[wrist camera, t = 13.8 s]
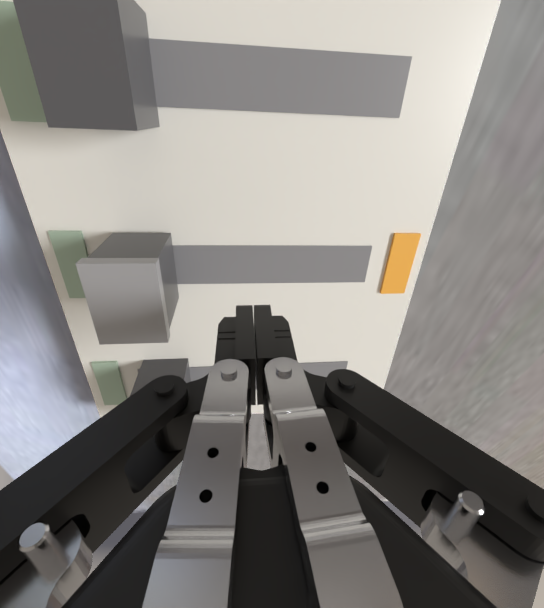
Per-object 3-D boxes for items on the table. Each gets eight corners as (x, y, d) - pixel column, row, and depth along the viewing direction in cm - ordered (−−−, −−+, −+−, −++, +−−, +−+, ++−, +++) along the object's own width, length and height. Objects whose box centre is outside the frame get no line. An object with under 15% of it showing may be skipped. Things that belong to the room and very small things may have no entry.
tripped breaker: (172, 231, 17) (155, 263, 13) (180, 298, 19) (168, 342, 16) (110, 230, 17) (75, 263, 13) (125, 299, 19) (99, 344, 15)
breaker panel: (470, -3, 16) (601, -68, 10) (367, 385, 29) (398, 450, 23) (-23, -49, 13) (-210, -165, 8) (112, 397, 26) (80, 472, 21)
